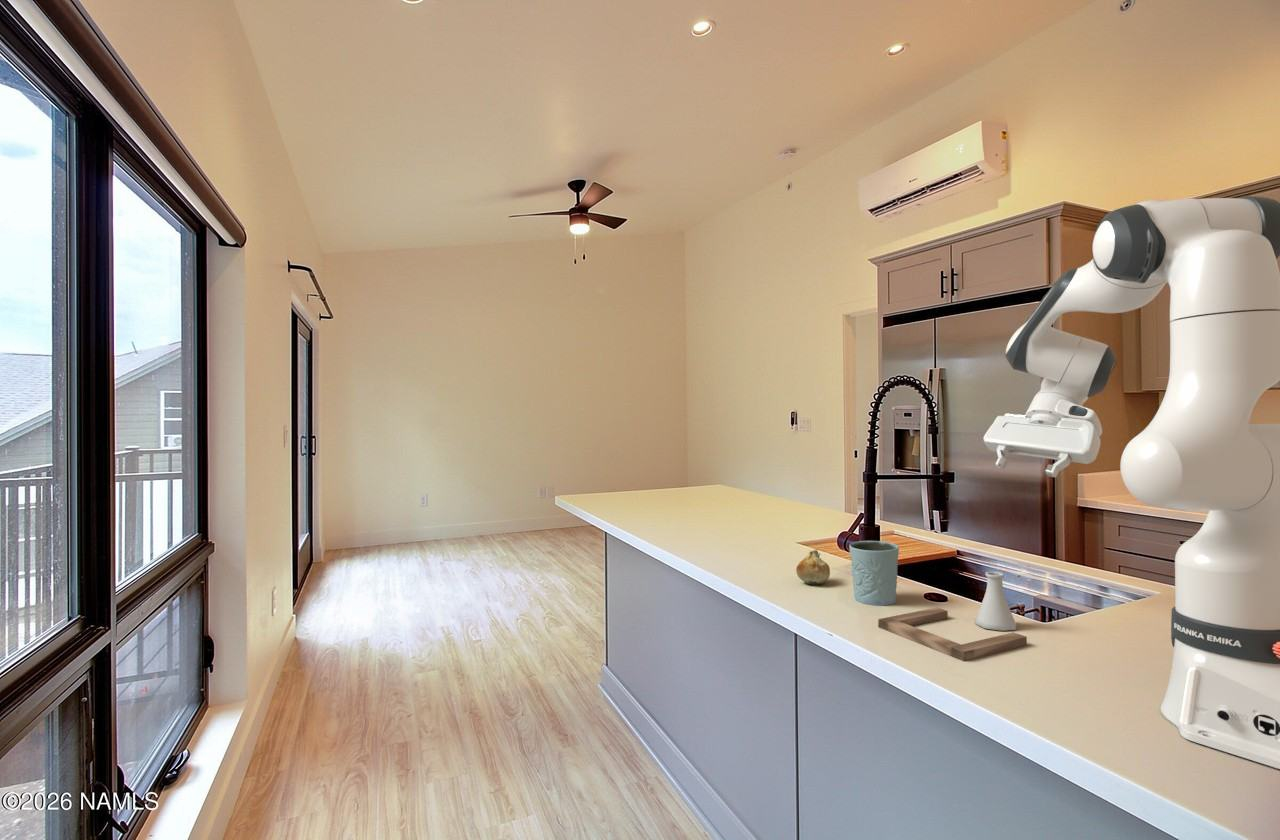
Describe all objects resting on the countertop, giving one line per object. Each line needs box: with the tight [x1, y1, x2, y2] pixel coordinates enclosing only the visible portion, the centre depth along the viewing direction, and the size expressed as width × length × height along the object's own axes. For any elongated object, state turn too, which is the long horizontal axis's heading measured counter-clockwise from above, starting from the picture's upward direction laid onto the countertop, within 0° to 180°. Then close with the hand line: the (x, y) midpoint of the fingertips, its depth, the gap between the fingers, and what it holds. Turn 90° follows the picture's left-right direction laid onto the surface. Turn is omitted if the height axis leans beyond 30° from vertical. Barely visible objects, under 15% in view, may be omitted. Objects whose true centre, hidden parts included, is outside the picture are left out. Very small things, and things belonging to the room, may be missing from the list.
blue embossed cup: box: [848, 540, 900, 607], centre depth 142 cm, size 10×10×12 cm
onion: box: [795, 549, 831, 586], centre depth 157 cm, size 8×8×8 cm
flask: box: [974, 571, 1017, 631], centre depth 125 cm, size 7×7×10 cm
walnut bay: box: [877, 607, 1028, 662], centre depth 120 cm, size 19×16×2 cm
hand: (1024, 470), depth 129 cm, fingers open, 8 cm apart
